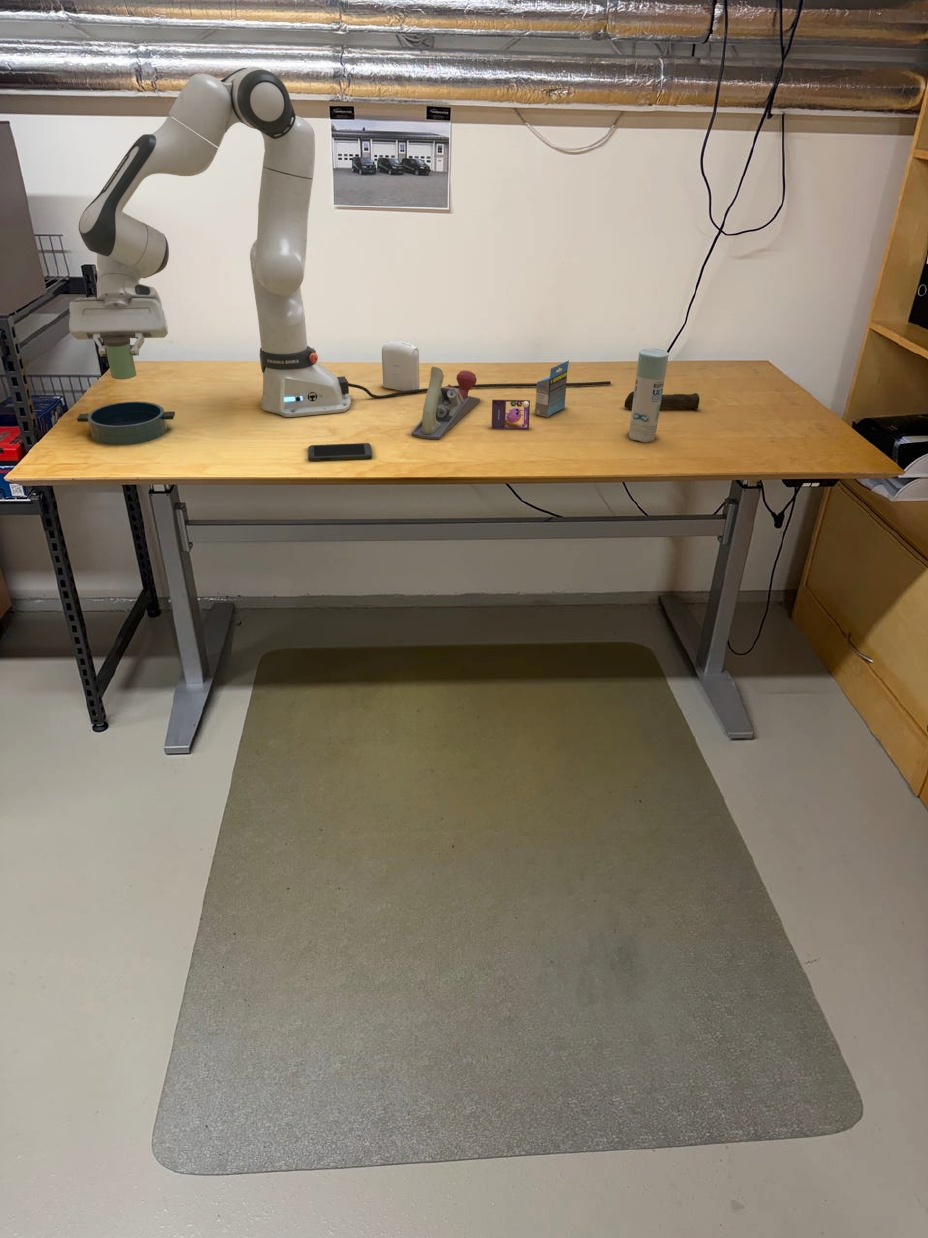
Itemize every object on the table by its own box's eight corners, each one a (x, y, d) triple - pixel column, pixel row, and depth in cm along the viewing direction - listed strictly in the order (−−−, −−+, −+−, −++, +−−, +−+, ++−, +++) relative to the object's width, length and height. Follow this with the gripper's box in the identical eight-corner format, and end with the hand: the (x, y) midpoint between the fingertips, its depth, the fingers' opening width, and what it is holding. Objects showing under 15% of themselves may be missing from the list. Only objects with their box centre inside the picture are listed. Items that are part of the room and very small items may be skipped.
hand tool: (694, 406, 223) (697, 388, 221) (698, 411, 220) (701, 393, 217) (622, 405, 222) (624, 388, 220) (625, 411, 219) (627, 393, 216)
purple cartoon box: (492, 399, 204) (530, 400, 204) (491, 399, 209) (528, 400, 209) (491, 428, 205) (529, 429, 206) (490, 428, 210) (527, 428, 211)
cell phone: (372, 458, 189) (372, 455, 189) (308, 461, 187) (308, 457, 187) (370, 445, 195) (370, 442, 195) (308, 448, 193) (308, 444, 193)
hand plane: (410, 436, 201) (409, 372, 193) (456, 395, 226) (457, 337, 217) (438, 440, 199) (438, 376, 191) (481, 399, 224) (483, 341, 215)
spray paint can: (649, 444, 200) (662, 358, 189) (623, 438, 203) (634, 353, 192) (659, 436, 205) (672, 351, 194) (634, 430, 208) (645, 346, 197)
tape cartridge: (552, 405, 221) (555, 356, 215) (565, 408, 219) (569, 359, 213) (533, 414, 215) (537, 365, 208) (547, 418, 213) (551, 368, 207)
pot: (171, 418, 207) (168, 400, 205) (161, 444, 193) (158, 425, 191) (100, 420, 205) (96, 402, 203) (84, 447, 191) (79, 427, 189)
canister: (138, 371, 193) (131, 335, 188) (134, 379, 188) (127, 342, 184) (113, 372, 192) (106, 335, 188) (109, 379, 188) (101, 342, 183)
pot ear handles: (175, 414, 200) (174, 411, 200) (173, 419, 197) (172, 415, 197) (80, 417, 197) (79, 413, 197) (77, 422, 195) (76, 418, 194)
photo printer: (380, 388, 229) (378, 341, 223) (388, 383, 233) (387, 337, 226) (414, 394, 226) (413, 346, 219) (421, 389, 229) (421, 342, 222)
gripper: (64, 289, 185) (64, 348, 183) (162, 288, 188) (163, 346, 185) (74, 305, 192) (74, 362, 189) (169, 304, 194) (170, 360, 191)
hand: (119, 354), depth 187 cm, fingers closed on canister, 5 cm apart
